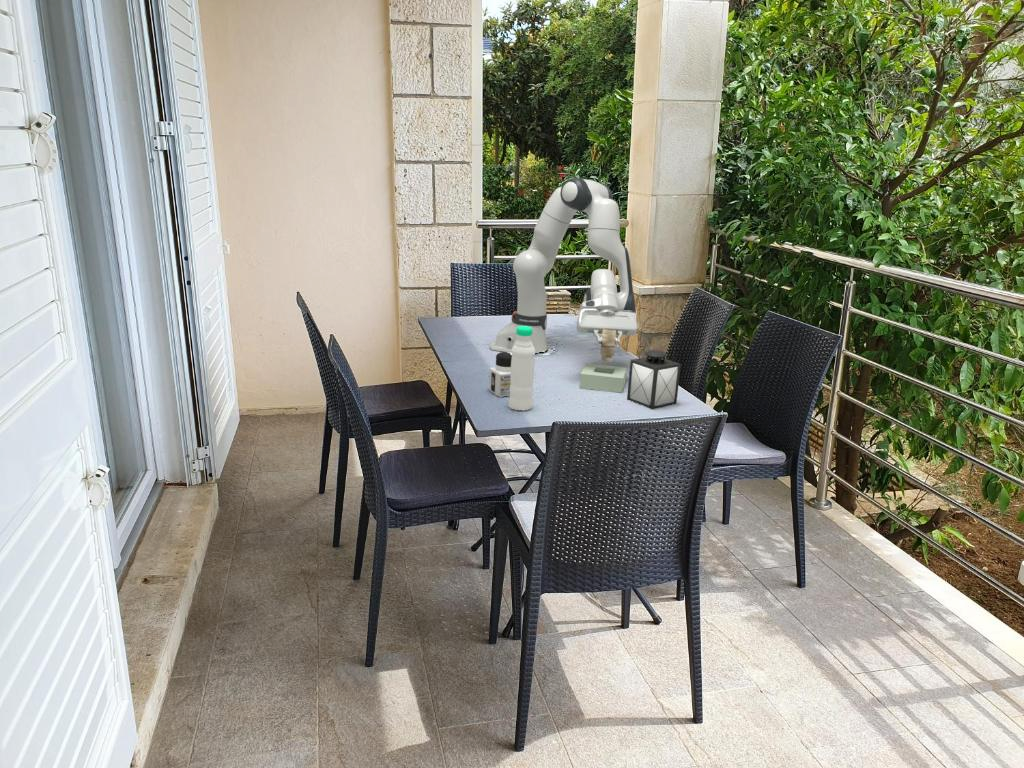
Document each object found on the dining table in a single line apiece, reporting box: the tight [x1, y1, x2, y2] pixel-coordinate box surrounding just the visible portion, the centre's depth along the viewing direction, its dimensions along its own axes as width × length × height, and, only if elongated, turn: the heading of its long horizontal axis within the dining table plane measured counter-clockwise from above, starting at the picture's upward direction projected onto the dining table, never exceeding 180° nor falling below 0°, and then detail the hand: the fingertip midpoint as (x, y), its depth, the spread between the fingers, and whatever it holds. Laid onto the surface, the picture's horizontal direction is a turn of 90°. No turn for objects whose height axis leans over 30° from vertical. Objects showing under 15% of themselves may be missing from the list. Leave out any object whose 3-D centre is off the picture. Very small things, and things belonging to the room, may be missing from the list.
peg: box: [600, 329, 617, 362], centre depth 264 cm, size 4×4×10 cm
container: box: [488, 351, 512, 398], centre depth 254 cm, size 8×8×13 cm
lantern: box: [626, 314, 682, 410], centre depth 250 cm, size 11×11×28 cm
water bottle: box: [508, 326, 536, 411], centre depth 238 cm, size 7×7×25 cm
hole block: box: [579, 362, 628, 394], centre depth 269 cm, size 14×14×5 cm
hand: (608, 343), depth 264 cm, fingers closed on peg, 4 cm apart
